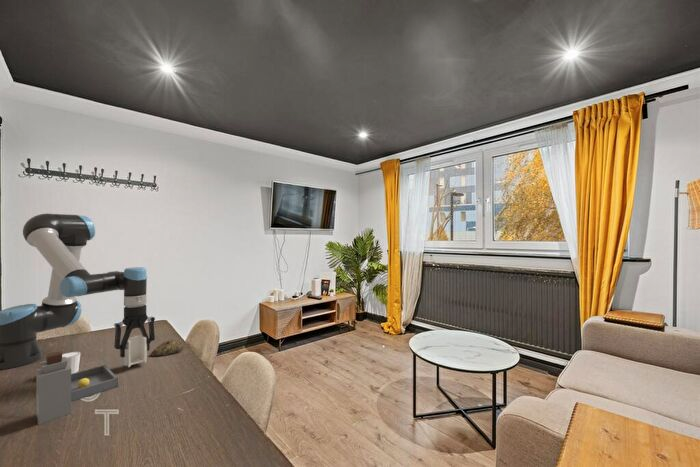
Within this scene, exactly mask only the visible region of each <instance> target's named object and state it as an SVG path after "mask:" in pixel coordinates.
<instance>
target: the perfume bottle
mask: <svg viewBox="0 0 700 467" xmlns="http://www.w3.org/2000/svg"><path fill="white" fill-rule="evenodd" d="M62 354H63V353H62V351H60V350H59V351H56V352H52V353H46V354H45V360H44V361H40V363H39V364H40V366H41V368H40V369H39V368H38V369H36V385H35V387H36V388H35V391H36V392H35V393H36V396H35V397H36V398H35V402H36V403H35V404H36V405H35V413H36V414H35V416H36V419H37V424H38V425H42V424H45V423H48V422H51V421H54V420H56V419H60V418H62V417H66V416H68V415H71V414H72V402H71V367H70V366H69V364H68V363H67V362H68V360H67V359H66V357H62Z"/></svg>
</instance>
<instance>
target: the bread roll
mask: <svg viewBox="0 0 700 467" xmlns="http://www.w3.org/2000/svg"><path fill="white" fill-rule="evenodd" d="M183 349H184V346H183V344H182V343H181V342H180V341H179V340H176V339H175V340H174V339H172V340H167V341H164V342H161V343H160V344H159V345H157V347H156V348H154V349H153V351H152V352H151V354H150V356H151V357H162V356H170V354H171V355H176V354H179V353H181V352H182V351H183ZM175 353H176V354H175Z"/></svg>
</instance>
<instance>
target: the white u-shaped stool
mask: <svg viewBox="0 0 700 467" xmlns="http://www.w3.org/2000/svg"><path fill="white" fill-rule="evenodd" d="M126 348H127V365H126V366H127V367H128V368H130V367H131V366H132V365H136V364H140V363H147V360H146V337H144V336H142V334H139V335H135V336H131V337H130V336H129V339H128V341H127V344H126Z"/></svg>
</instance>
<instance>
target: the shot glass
mask: <svg viewBox="0 0 700 467" xmlns="http://www.w3.org/2000/svg"><path fill="white" fill-rule="evenodd" d="M62 357H66V359H67V360H68V362H67V363H68V364H69V366H70V367H71V374H73V373H76V372H79V368H80V363H81V362H80V359H81V351H71V352H66V353H62Z"/></svg>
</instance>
